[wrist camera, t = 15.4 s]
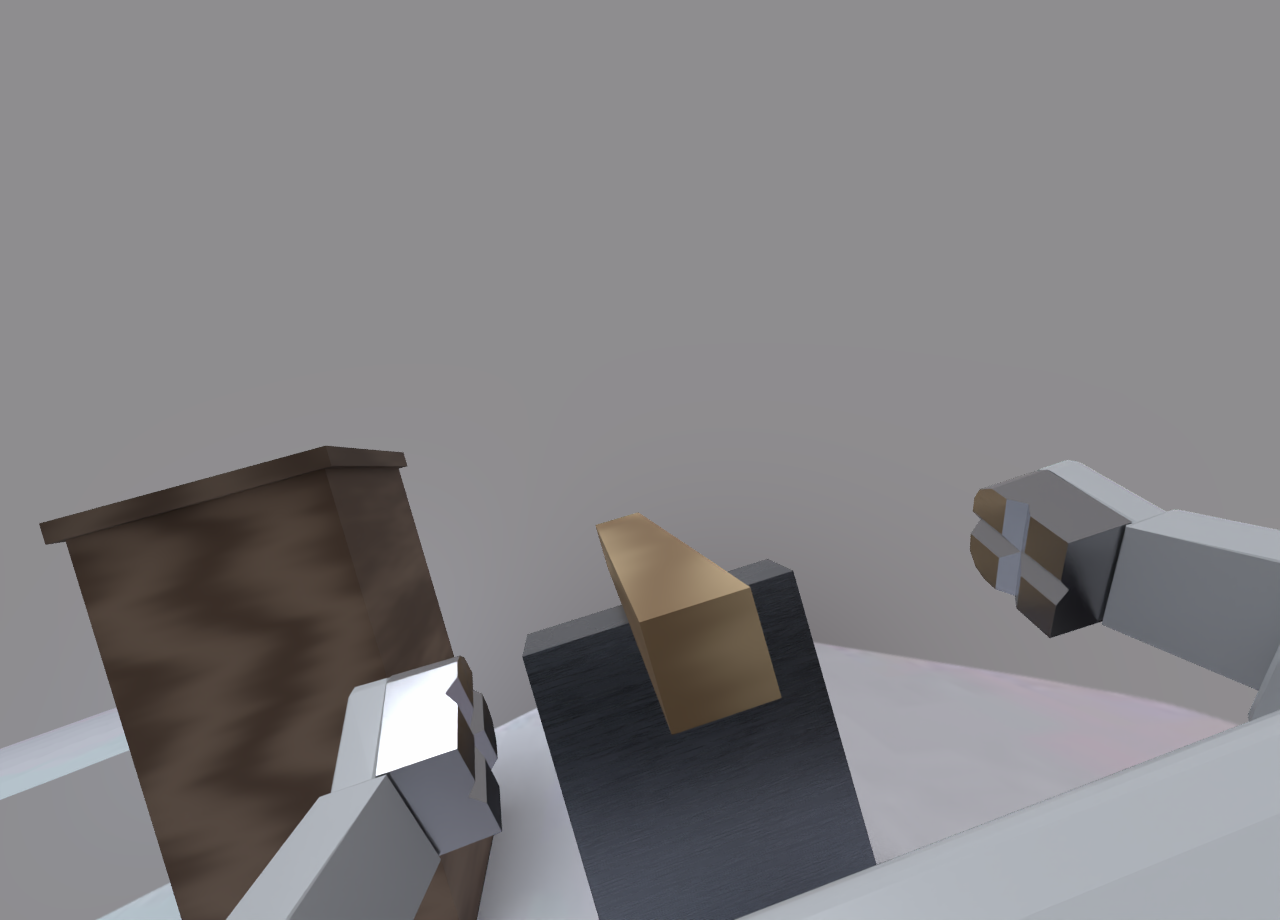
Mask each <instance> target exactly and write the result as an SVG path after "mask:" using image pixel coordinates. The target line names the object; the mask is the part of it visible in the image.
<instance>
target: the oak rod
mask: <svg viewBox="0 0 1280 920" xmlns="http://www.w3.org/2000/svg"><path fill="white" fill-rule="evenodd" d="M596 528H597V532H598V535H599V539H600V542H601V546H602V549H603V553H604V556H605V560H606V563H607V567H608V569H609V572H610V575H611V577H612V580H613V582H614V585H615V588H616V590H617V593H618V596H619V598H620V601H621V603H622V606H623V609H624V611H625V614H626V616H627V619H628V622H629V624H630V627H631V630H632V632H633V635H634V637H635V640H636V643H637V645H638V648H639V650H640V653H641V656H642V658H643V661H644V663H645V666H646V669H647V671H648V674H649V677H650V679H651V682H652V684H653V687H654V690H655V692H656V695H657V697H658V700H659V703H660V705H661V708H662V710H663V713H664V716H665V718H666V721H667V724H668V726H669V729H670V731H671V734H672V735H674V734H677V733H680V732H683V731H686V730H688V729H691V728H694V727H697V726H700V725H703V724H706V723H709V722H712V721H715V720H718V719H721V718H724V717H727V716H730V715H733V714H736V713H739V712H742V711H745V710H748V709H751V708H754V707H756V706H759V705H762V704H765V703H768V702H771V701H774V700H777V699H780V698H782V697H781V693H780V690H779V686H778V683H777V679H776V676H775V672H774V669H773V665H772V662H771V658H770V655H769V651H768V648H767V644H766V641H765V637H764V634H763V630H762V627H761V623H760V620H759V616H758V613H757V609H756V606H755V602H754V599H753V595H752V592H751V588H750V587H749V586H748V585H746V584H745V583H743V582H742V581H740V580H739V579H737V578H736V577H734V576H733V575H731V574H730V573H728V572H727V571H725V570H724V569H722V568H720V567H719V566H718V565H716V564H715V563H713V562H711V561H710V560H709V559H707V558H706V557H704V556H703V555H701V554H700V553H698V552H697V551H695V550H694V549H692V548H691V547H689V546H688V545H686V544H685V543H683V542H682V541H680V540H679V539H677V538H676V537H674V536H673V535H671V534H670V533H668V532H667V531H665V530H664V529H662V528H661V527H659V526H658V525H656V524H655V523H653V522H652V521H650V520H649V519H647V518H646V517H644V516H643V515H641V514H640V513H635V514H631V515H628V516H625V517H621V518H618V519H615V520H611V521H608V522H605V523H601V524H598V525H596Z"/></svg>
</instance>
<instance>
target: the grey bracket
mask: <svg viewBox="0 0 1280 920" xmlns="http://www.w3.org/2000/svg"><path fill="white" fill-rule="evenodd" d="M728 573H730V574H731V575H733V576H734V577H736V578H737V579H739V580H740V581H742V582H743V583H745V584H746V585H748V586H749V587H750V588H751V592H752V595H753V599H754V602H755V606H756V609H757V613H758V616H759V620H760V623H761V627H762V630H763V634H764V637H765V641H766V644H767V648H768V651H769V655H770V658H771V662H772V665H773V669H774V672H775V676H776V679H777V683H778V686H779V690H780V693H781V697H782V698H780V699H777V700H774V701H771V702H768V703H765V704H762V705H759V706H756V707H754V708H751V709H748V710H745V711H742V712H739V713H736V714H733V715H730V716H727V717H724V718H721V719H718V720H715V721H712V722H709V723H706V724H703V725H700V726H697V727H694V728H691V729H688V730H686V731H683V732H680V733H677V734H674V735H672V734H671V731H670V729H669V726H668V724H667V721H666V718H665V716H664V713H663V710H662V708H661V705H660V703H659V700H658V697H657V695H656V692H655V690H654V687H653V684H652V682H651V679H650V677H649V674H648V671H647V669H646V666H645V663H644V661H643V658H642V656H641V653H640V650H639V648H638V645H637V643H636V640H635V637H634V635H633V632H632V630H631V627H630V624H629V622H628V619H627V616H626V614H625V611H624V609H623V606H622V605H620V606H616V607H614V608H610V609H607V610H604V611H601V612H597V613H594V614H591V615H588V616H585V617H581V618H578V619H575V620H572V621H569V622H566V623H562V624H559V625H556V626H553V627H550V628H546V629H543V630H540V631H537V632H534V633H531V634H528V635H527V639H526V643H525V647H524V652H523V661H524V664H525V668H526V671H527V674H528V677H529V681H530V685H531V688H532V691H533V695H534V698H535V701H536V705H537V709H538V712H539V715H540V719H541V722H542V726H543V729H544V732H545V736H546V739H547V743H548V746H549V750H550V753H551V756H552V760H553V763H554V767H555V770H556V773H557V777H558V780H559V784H560V787H561V790H562V794H563V797H564V801H565V804H566V808H567V811H568V814H569V818H570V821H571V825H572V828H573V831H574V835H575V838H576V842H577V845H578V849H579V852H580V855H581V859H582V862H583V866H584V869H585V872H586V876H587V879H588V883H589V886H590V889H591V893H592V896H593V900H594V903H595V907H596V910H597V913H598V917H599V920H735V919H738V918H740V917H743V916H745V915H748V914H751V913H753V912H756V911H758V910H761V909H764V908H766V907H769V906H771V905H774V904H776V903H779V902H782V901H784V900H787V899H789V898H792V897H795V896H797V895H800V894H802V893H805V892H808V891H810V890H813V889H815V888H818V887H821V886H823V885H826V884H828V883H831V882H834V881H836V880H839V879H841V878H844V877H846V876H849V875H852V874H854V873H857V872H859V871H862V870H865V869H867V868H870V867H872V866H875V865H876V862H875V858H874V855H873V851H872V848H871V844H870V841H869V837H868V834H867V830H866V826H865V823H864V819H863V816H862V812H861V809H860V805H859V802H858V798H857V795H856V791H855V788H854V784H853V781H852V777H851V773H850V770H849V766H848V763H847V759H846V756H845V752H844V749H843V745H842V742H841V738H840V735H839V731H838V728H837V724H836V721H835V717H834V713H833V710H832V706H831V703H830V699H829V696H828V692H827V689H826V685H825V682H824V678H823V675H822V671H821V668H820V664H819V660H818V657H817V653H816V650H815V646H814V643H813V639H812V636H811V632H810V629H809V625H808V622H807V618H806V615H805V611H804V608H803V604H802V600H801V597H800V593H799V590H798V586H797V583H796V579H795V576H794V572H793V570H790V569H788V568H786V567H784V566H782V565H780V564H777V563H775V562H773V561H771V560H769V559H767V560H763V561H760V562H757V563H753V564H750V565H747V566H744V567H741V568H737V569H734V570H731V571H728Z"/></svg>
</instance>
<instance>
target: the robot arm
mask: <svg viewBox="0 0 1280 920" xmlns="http://www.w3.org/2000/svg"><path fill="white" fill-rule="evenodd" d="M973 512H974V513H975V514H976V515H977V516H978V517H979V518H980V519H981V520H980V521H979V522H978V524H977V525H976V527H975V528H974V530H973V531H972V533H971V542H970V552H971V554H972V558H973V560H974V563H975V566H976V568H977V569H978V571H979V572H980V574H981V575H982V576H983V578H984V579H985V580H986V581H987V582H988V583H989V584H990V585H991V586H992V587H994V588H995V589H996V590H999V591H1002V592H1005V593H1009V594H1011V595H1014V596H1015V601H1016V607H1017V609H1018V610H1019V611H1020V612H1021V613H1022V614H1024V616H1026V617H1027V618H1028V619H1029V620H1030V621H1031V622H1032V623H1033V624H1035V625H1036V626H1037V627H1038V628H1039V629H1040V630H1041V631H1042V632H1043V633H1045V634H1046V635H1047V636H1048V637H1049V638H1052V637H1055V636H1058V635H1061V634H1065V633H1068V632H1070V631H1074V630H1077V629H1080V628H1083V627H1086V626H1089V625H1093V624H1095V623H1098V622H1102V625H1104V626H1106V627H1109V628H1111V629H1113V630H1116V631H1118V632H1121V633H1123V634H1125V635H1128V636H1130V637H1132V638H1135V639H1137V640H1140V641H1142V642H1144V643H1147V644H1149V645H1151V646H1154V647H1156V648H1159V649H1161V650H1163V651H1166V652H1168V653H1171V654H1173V655H1175V656H1177V657H1180V658H1182V659H1185V660H1187V661H1190V662H1192V663H1194V664H1196V665H1199V666H1201V667H1204V668H1206V669H1208V670H1211V671H1213V672H1215V673H1218V674H1220V675H1223V676H1225V677H1227V678H1230V679H1232V680H1235V681H1237V682H1239V683H1242V684H1244V685H1247V686H1249V687H1251V688H1254V689H1256V690H1258V693H1257V695H1256V698H1255V700H1254V702H1253V704H1252V706H1251V709H1250V711H1249V713H1248V718H1249V722H1247V723H1244V724H1241V725H1239V726H1236V727H1234V728H1231V729H1228V730H1226V731H1223V732H1221V733H1218V734H1216V735H1213V736H1210V737H1208V738H1205V739H1203V740H1200V741H1197V742H1195V743H1192V744H1190V745H1187V746H1184V747H1182V748H1179V749H1177V750H1174V751H1171V752H1169V753H1166V754H1163V755H1161V756H1158V757H1156V758H1153V759H1150V760H1148V761H1145V762H1143V763H1140V764H1137V765H1135V766H1132V767H1130V768H1127V769H1124V770H1122V771H1119V772H1117V773H1114V774H1111V775H1109V776H1106V777H1104V778H1101V779H1098V780H1096V781H1093V782H1091V783H1088V784H1085V785H1083V786H1080V787H1078V788H1075V789H1072V790H1070V791H1067V792H1065V793H1062V794H1059V795H1057V796H1054V797H1052V798H1049V799H1046V800H1044V801H1041V802H1039V803H1036V804H1033V805H1031V806H1028V807H1026V808H1023V809H1020V810H1018V811H1015V812H1013V813H1010V814H1007V815H1005V816H1002V817H999V818H997V819H994V820H992V821H989V822H986V823H984V824H981V825H979V826H976V827H973V828H971V829H968V830H966V831H963V832H960V833H958V834H955V835H953V836H950V837H948V838H945V839H942V840H940V841H937V842H935V843H932V844H929V845H927V846H924V847H922V848H919V849H916V850H914V851H911V852H909V853H906V854H903V855H901V856H898V857H896V858H893V859H891V860H888V861H885V862H883V863H880V864H878V865H875V866H872V867H870V868H867V869H865V870H862V871H859V872H857V873H854V874H852V875H849V876H846V877H844V878H841V879H839V880H836V881H834V882H831V883H828V884H826V885H823V886H821V887H818V888H815V889H813V890H810V891H808V892H805V893H802V894H800V895H797V896H795V897H792V898H789V899H787V900H784V901H782V902H779V903H776V904H774V905H771V906H769V907H766V908H764V909H761V910H758V911H756V912H753V913H751V914H748V915H745V916H743V917H740V918H738V919H735V920H1280V530H1276V529H1271V528H1266V527H1261V526H1256V525H1251V524H1246V523H1242V522H1237V521H1232V520H1227V519H1222V518H1217V517H1212V516H1207V515H1202V514H1197V513H1192V512H1188V511H1183V510H1178V509H1175V510H1171V511H1168V512H1166V511H1164V510H1162V509H1160V508H1159V507H1157V506H1155V505H1154V504H1152V503H1150V502H1148V501H1147V500H1145V499H1143V498H1141V497H1140V496H1138V495H1136V494H1134V493H1132V492H1131V491H1129V490H1127V489H1126V488H1124V487H1122V486H1120V485H1119V484H1117V483H1115V482H1113V481H1112V480H1110V479H1108V478H1106V477H1105V476H1103V475H1101V474H1099V473H1098V472H1096V471H1094V470H1092V469H1091V468H1089V467H1087V466H1086V465H1084V464H1082V463H1080V462H1077V461H1071V460H1065V461H1062V462H1060V463H1057V464H1054V465H1051V466H1048V467H1045V468H1042V469H1039V470H1037V471H1035V472H1031V473H1028V474H1025V475H1022V476H1019V477H1016V478H1013V479H1009V480H1006V481H1004V482H1000V483H997V484H994V485H991V486H988V487H985V488H982V489H980V490H979V491H978V493H977V495H976V496H975V498H974V506H973ZM497 759H498V757H497V744H496V737H495V732H494V727H493V722H492V718H491V715H490V712H489V709H488V706H487V703H486V701H485V699H484V697H483V695H482V694H481V693H479V692H477V691H475V690H473V680H472V671H471V670H470V668H469V666H468V664H467V662H466V660H465V658H464V657H462V656H457V657H453V658H450V659H447V660H443V661H440V662H436V663H433V664H430V665H426V666H423V667H420V668H416V669H413V670H409V671H406V672H403V673H399V674H396V675H392V676H391V677H389V678H385V679H382V680H378V681H375V682H371V683H368V684H364V685H361V686H357V687H355V688H354V689H353V691H352V692H351V694H350V696H349V698H348V703H347V708H346V713H345V719H344V724H343V730H342V735H341V740H340V746H339V751H338V757H337V762H336V767H335V773H334V778H333V784H332V789H331V793H329V794H326V795H324V796H321V797H319V798H318V799H317V801H316V802H315V803H314V805H313V806H312V807H311V809H310V810H309V811H308V813H307V814H306V815H305V816H304V818H303V819H302V820H301V822H300V823H299V824H298V826H297V827H296V828H295V830H294V831H293V832H292V834H291V835H290V836H289V837H288V839H287V840H286V841H285V843H284V844H283V845H282V847H281V848H280V849H279V851H278V852H277V853H276V855H275V856H274V857H273V858H272V860H271V861H270V862H269V864H268V865H267V866H266V868H265V869H264V870H263V872H262V873H261V874H260V876H259V877H258V878H257V879H256V881H255V882H254V883H253V885H252V886H251V887H250V889H249V890H248V891H247V893H246V894H245V895H244V897H243V898H242V899H241V900H240V902H239V903H238V904H237V906H236V907H235V908H234V910H233V911H232V912H231V914H230V915H229V916H228V918H227V919H226V920H414V917H415V915H416V913H417V911H418V909H419V906H420V904H421V902H422V900H423V898H424V895H425V893H426V891H427V889H428V887H429V885H430V882H431V880H432V878H433V876H434V874H435V871H436V869H437V867H438V865H439V863H440V860H441V859H440V857H439V856H440V855H443V854H445V853H448V852H451V851H453V850H456V849H458V848H461V847H464V846H466V845H469V844H471V843H474V842H477V841H479V840H482V839H484V838H487V837H490V836H492V835H495V834H497V833H500V832H502V825H501V807H500V789H499V785H498V783H497V781H496V779H495V777H494V775H493V773H492V771H491V769H492V767H493V766H494V764H495V762H496V760H497Z"/></svg>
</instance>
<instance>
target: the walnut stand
mask: <svg viewBox="0 0 1280 920" xmlns="http://www.w3.org/2000/svg"><path fill="white" fill-rule="evenodd" d="M406 466H407V463H406V460H405V457H404V453H402V452H391V451H390V452H389V451H379V450H368V449H356V448H344V447H334V446H323V447H319V448H316V449H312V450H308V451H305V452H301V453H297V454H293V455H290V456H286V457H283V458H279V459H275V460H272V461H268V462H264V463H260V464H257V465H253V466H249V467H246V468H242V469H238V470H235V471H231V472H227V473H224V474H220V475H216V476H213V477H209V478H205V479H202V480H198V481H195V482H191V483H187V484H183V485H180V486H176V487H172V488H169V489H165V490H161V491H158V492H154V493H150V494H146V495H143V496H139V497H136V498H132V499H128V500H124V501H121V502H117V503H113V504H110V505H106V506H102V507H99V508H95V509H92V510H88V511H84V512H80V513H77V514H73V515H69V516H66V517H62V518H58V519H54V520H51V521H47V522H43V523H40V524H39V525H40V528H41V531H42V535H43V538H44V541H45V544H53V543H60V542H66V544H67V547H68V550H69V554H70V556H71V560H72V563H73V567H74V570H75V573H76V576H77V579H78V583H79V586H80V589H81V593H82V596H83V599H84V602H85V605H86V609H87V612H88V615H89V619H90V622H91V625H92V629H93V632H94V635H95V638H96V641H97V645H98V648H99V651H100V655H101V658H102V661H103V664H104V667H105V671H106V674H107V677H108V681H109V684H110V687H111V690H112V694H113V697H114V700H115V703H116V707H117V710H118V713H119V717H120V720H121V723H122V726H123V730H124V733H125V736H126V739H127V743H128V746H129V749H130V752H131V756H132V759H133V762H134V765H135V768H136V772H137V775H138V778H139V782H140V785H141V788H142V791H143V795H144V798H145V801H146V804H147V808H148V811H149V814H150V817H151V821H152V824H153V827H154V831H155V834H156V837H157V840H158V844H159V847H160V850H161V853H162V856H163V860H164V863H165V866H166V870H167V873H168V876H169V879H170V883H171V886H172V889H173V892H174V896H175V899H176V902H177V905H178V909H179V912H180V915H181V918H182V920H226V919H227V918H228V916H229V915H230V914H231V912H232V911H233V910H234V908H235V907H236V906H237V904H238V903H239V902H240V900H241V899H242V898H243V897H244V895H245V894H246V893H247V891H248V890H249V889H250V887H251V886H252V885H253V883H254V882H255V881H256V879H257V878H258V877H259V876H260V874H261V873H262V872H263V870H264V869H265V868H266V866H267V865H268V864H269V862H270V861H271V860H272V858H273V857H274V856H275V855H276V853H277V852H278V851H279V849H280V848H281V847H282V845H283V844H284V843H285V841H286V840H287V839H288V837H289V836H290V835H291V834H292V832H293V831H294V830H295V828H296V827H297V826H298V824H299V823H300V822H301V820H302V819H303V818H304V816H305V815H306V814H307V813H308V811H309V810H310V809H311V807H312V806H313V805H314V803H315V802H316V801H317V799H318V798H319V797H321V796H324V795H326V794H329V793H331V789H332V784H333V778H334V773H335V767H336V762H337V757H338V751H339V746H340V740H341V735H342V730H343V724H344V719H345V713H346V708H347V703H348V698H349V696H350V694H351V692H352V691H353V689H354V688H355V687H357V686H361V685H364V684H368V683H371V682H375V681H378V680H382V679H385V678H389V677H391V676H392V675H396V674H399V673H403V672H406V671H409V670H413V669H416V668H420V667H423V666H426V665H430V664H433V663H436V662H440V661H443V660H447V659H450V658H453V657H454V655H453V651H452V648H451V644H450V641H449V638H448V635H447V631H446V628H445V624H444V621H443V617H442V614H441V611H440V607H439V604H438V600H437V597H436V594H435V591H434V587H433V584H432V580H431V577H430V573H429V570H428V567H427V563H426V560H425V556H424V553H423V550H422V546H421V543H420V540H419V536H418V533H417V529H416V526H415V523H414V519H413V516H412V512H411V509H410V506H409V502H408V499H407V495H406V492H405V489H404V485H403V482H402V479H401V475H400V472H399V468H402V467H406ZM492 839H493V835H492V836H490V837H487V838H484V839H482V840H479V841H477V842H474V843H471V844H469V845H466V846H464V847H461V848H458V849H456V850H453V851H451V852H448V853H445V854H443V855H440V856H439V857H440V859H441V860H440V863H439V865H438V867H437V869H436V871H435V874H434V876H433V878H432V880H431V882H430V885H429V887H428V889H427V891H426V893H425V895H424V898H423V900H422V902H421V904H420V906H419V909H418V911H417V913H416V915H415V917H414V920H476V919H477V914H478V909H479V904H480V899H481V894H482V889H483V884H484V879H485V874H486V869H487V864H488V859H489V854H490V849H491V844H492Z"/></svg>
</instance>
